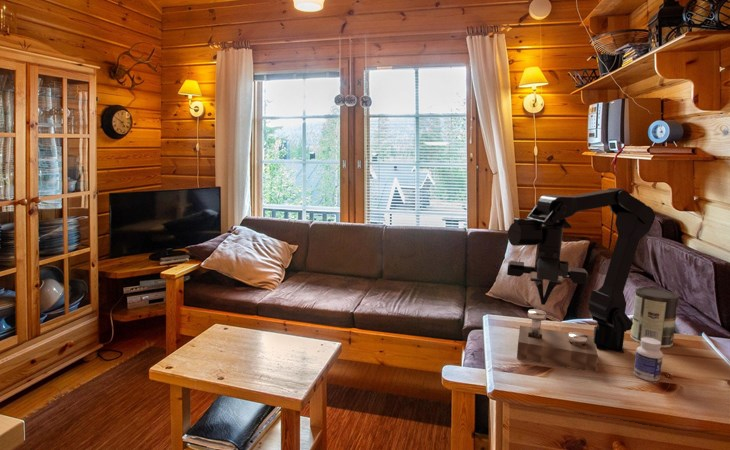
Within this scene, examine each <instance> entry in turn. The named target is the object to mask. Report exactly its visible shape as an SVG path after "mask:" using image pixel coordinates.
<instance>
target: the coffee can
mask: <svg viewBox="0 0 730 450" xmlns="http://www.w3.org/2000/svg"><path fill="white" fill-rule="evenodd" d="M634 293H635V294H634V296H635V297H634V302H633V303H634V304H633V313H632V320H631V321H632V322H633V325H632V327H631V330H630V338H631V340H634V341H635V342H637V343H639V344H641V343H640V342H641V338H644V337H647V338H653V339H656V340H658V341H660V342H661V348H671V347H673V345H674V339H675V338H674V337H675V329H676V319H677V314H678V306H679V299H680V295H679V294H678V293H676V292H673V291H669V290H666V289H662V288H661V289H660V288H655V287H637V288H636V289H635V290H634Z"/></svg>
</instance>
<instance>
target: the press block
mask: <svg viewBox="0 0 730 450" xmlns="http://www.w3.org/2000/svg"><path fill="white" fill-rule="evenodd" d="M568 333H569V332H567V331H561V330H560V331H559V330H554V329H546V328H541V327H540V336H539V337H535V336H532V335H531V326H527V325H519V332H518V340H517V352H516V359H517V360H524V361H528V362H533V363H534V362H535V363H540V364H547V365H551V366H556V367H563V368H569V369H572V370H573V369H574V370H580V371H586V372H590V373H597V367H598V359H599V358H598V356H599V354H598V349H597V348H596V344H595V343H594V340H593V336H592V335H588V334H586V335H587V336H588V339H587V344H584V345H575V344H572V342H570V341H569V340H568Z"/></svg>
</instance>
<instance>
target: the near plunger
mask: <svg viewBox="0 0 730 450" xmlns="http://www.w3.org/2000/svg"><path fill="white" fill-rule="evenodd" d="M587 335H588V334H585V333H583V332H578V331H570V332H568V340H569V341H570V342H572V344H575V345H584V344H587V339H588V336H589V335H588V336H587Z"/></svg>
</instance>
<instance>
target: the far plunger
mask: <svg viewBox="0 0 730 450" xmlns="http://www.w3.org/2000/svg"><path fill="white" fill-rule="evenodd" d="M527 318H529V320H531V325H530V327H531V335H532V336H535V337H539V336H540V328H541V327H542V326H541V325H542V321H546V319H547V312H546V311H544V310H541V309H536V308H534V309H533V308H531V309H528V311H527Z"/></svg>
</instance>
